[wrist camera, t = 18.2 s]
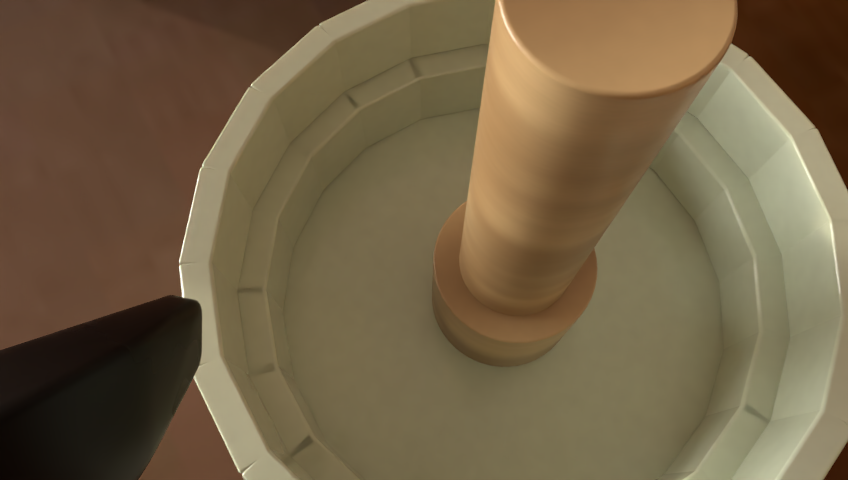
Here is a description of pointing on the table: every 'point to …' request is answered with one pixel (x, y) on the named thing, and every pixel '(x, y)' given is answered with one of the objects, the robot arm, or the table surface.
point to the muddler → (562, 158)
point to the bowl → (581, 345)
